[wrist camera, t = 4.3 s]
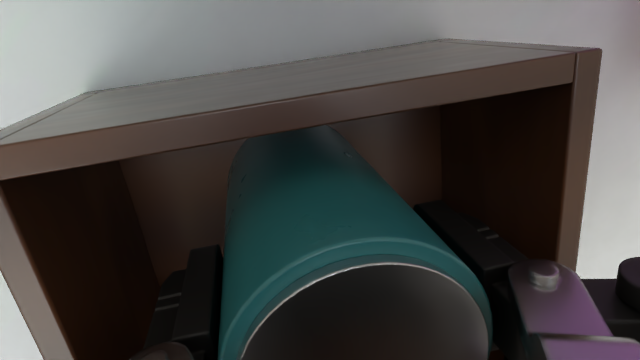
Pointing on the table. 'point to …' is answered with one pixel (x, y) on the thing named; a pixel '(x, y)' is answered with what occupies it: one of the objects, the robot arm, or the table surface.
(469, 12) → the table surface
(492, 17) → the table surface
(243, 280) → the can
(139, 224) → the chest
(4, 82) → the table surface
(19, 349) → the table surface
